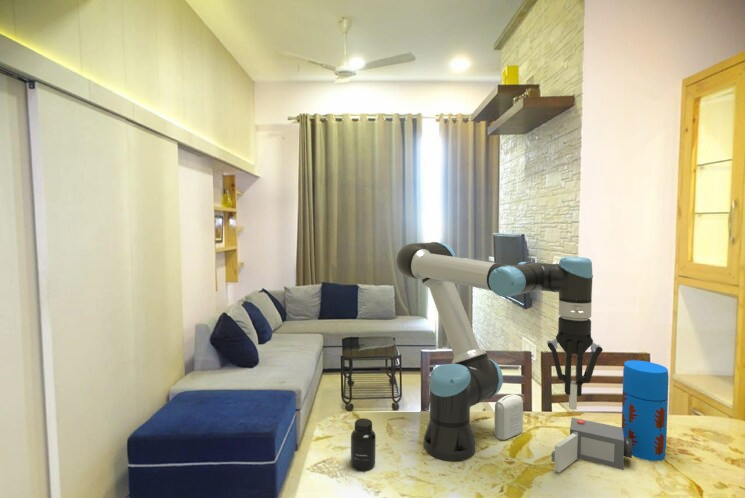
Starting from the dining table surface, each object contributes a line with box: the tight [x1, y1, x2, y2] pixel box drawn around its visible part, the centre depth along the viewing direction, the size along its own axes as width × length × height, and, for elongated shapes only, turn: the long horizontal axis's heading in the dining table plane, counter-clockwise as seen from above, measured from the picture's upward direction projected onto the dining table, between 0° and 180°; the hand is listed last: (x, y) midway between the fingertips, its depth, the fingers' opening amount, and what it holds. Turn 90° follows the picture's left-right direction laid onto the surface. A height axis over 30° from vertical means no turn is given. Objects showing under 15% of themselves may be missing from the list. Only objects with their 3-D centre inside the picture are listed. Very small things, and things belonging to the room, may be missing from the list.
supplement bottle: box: [350, 417, 377, 472], centre depth 110 cm, size 7×7×12 cm
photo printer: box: [494, 394, 524, 441], centre depth 126 cm, size 10×4×12 cm, turn 123°
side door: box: [551, 432, 579, 474], centre depth 109 cm, size 11×2×8 cm, turn 128°
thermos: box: [621, 359, 670, 462], centre depth 116 cm, size 11×11×25 cm
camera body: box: [569, 417, 633, 471], centre depth 113 cm, size 15×8×9 cm, turn 61°
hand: (572, 407), depth 104 cm, fingers closed
